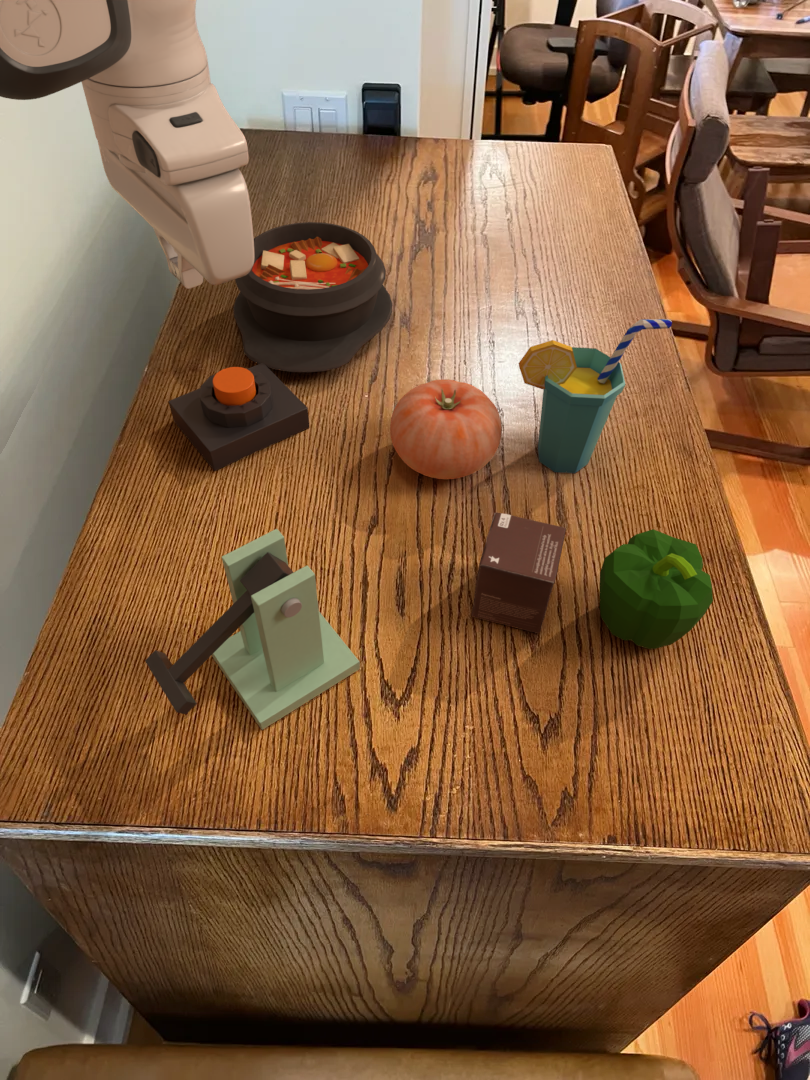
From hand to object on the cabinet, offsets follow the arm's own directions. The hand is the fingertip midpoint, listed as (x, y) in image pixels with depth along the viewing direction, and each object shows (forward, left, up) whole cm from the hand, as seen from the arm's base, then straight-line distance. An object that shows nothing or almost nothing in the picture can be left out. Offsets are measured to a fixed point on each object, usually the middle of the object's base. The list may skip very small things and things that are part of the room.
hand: (187, 279), depth 66 cm
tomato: (+16, -17, -17) cm, 29 cm away
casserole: (+18, +10, -17) cm, 27 cm away
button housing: (+2, -1, -17) cm, 17 cm away
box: (+10, -34, -17) cm, 40 cm away
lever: (-12, -28, -9) cm, 32 cm away
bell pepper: (+17, -42, -17) cm, 49 cm away
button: (+2, -1, -13) cm, 13 cm away
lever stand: (-9, -28, -17) cm, 34 cm away
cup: (+27, -24, -17) cm, 40 cm away
